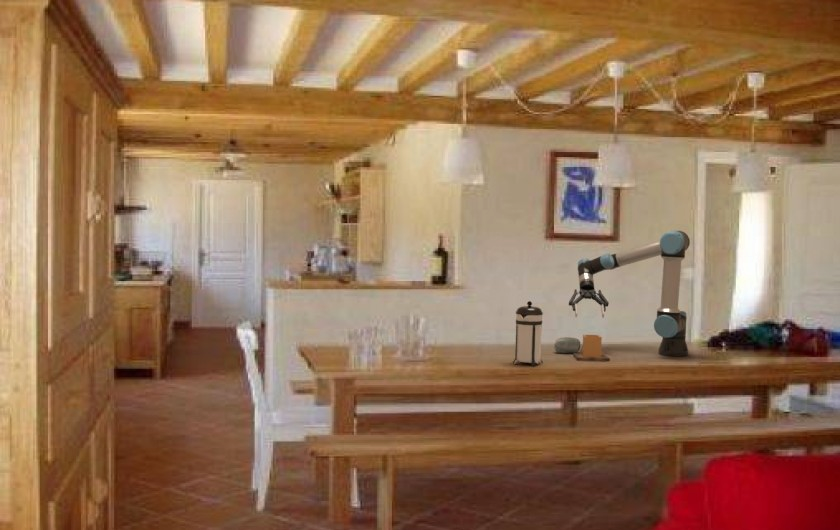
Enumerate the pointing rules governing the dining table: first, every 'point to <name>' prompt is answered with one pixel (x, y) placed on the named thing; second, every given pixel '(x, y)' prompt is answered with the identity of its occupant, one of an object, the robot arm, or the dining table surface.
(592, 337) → the spacer sleeve
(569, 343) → the grey green rounded lump
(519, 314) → the coffee press
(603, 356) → the shaft stand
